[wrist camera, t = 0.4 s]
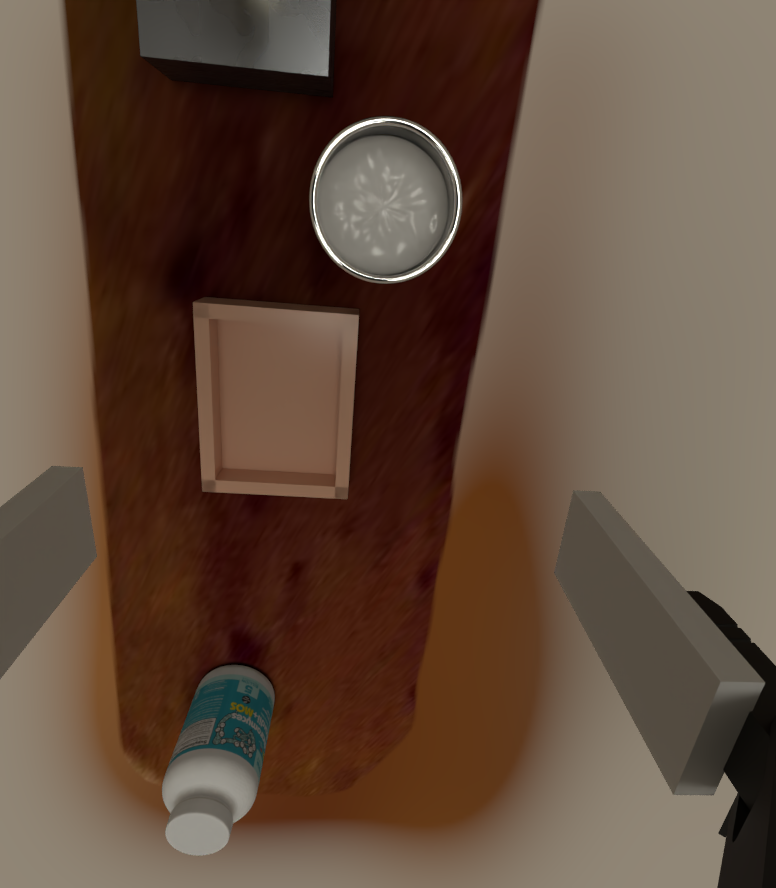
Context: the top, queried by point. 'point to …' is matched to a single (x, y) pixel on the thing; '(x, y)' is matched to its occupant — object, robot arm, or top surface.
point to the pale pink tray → (275, 396)
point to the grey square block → (242, 42)
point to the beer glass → (385, 199)
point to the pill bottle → (217, 758)
